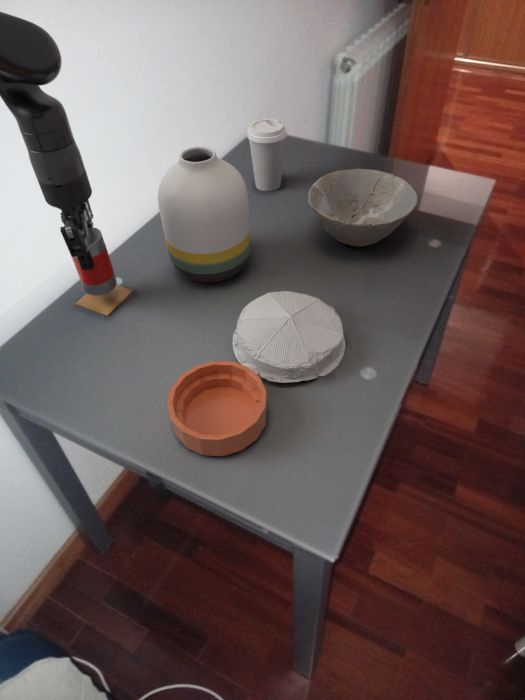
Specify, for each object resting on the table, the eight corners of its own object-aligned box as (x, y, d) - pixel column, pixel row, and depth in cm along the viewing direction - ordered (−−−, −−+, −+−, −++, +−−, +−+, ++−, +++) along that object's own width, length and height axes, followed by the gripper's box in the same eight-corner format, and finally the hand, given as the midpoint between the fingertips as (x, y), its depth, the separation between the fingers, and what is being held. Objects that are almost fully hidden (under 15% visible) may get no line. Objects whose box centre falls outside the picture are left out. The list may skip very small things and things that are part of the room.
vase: (264, 250, 106) (260, 140, 89) (231, 299, 96) (220, 185, 78) (195, 235, 111) (178, 128, 93) (156, 280, 100) (130, 168, 83)
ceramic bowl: (411, 213, 115) (420, 173, 107) (403, 273, 100) (412, 231, 92) (318, 202, 119) (320, 162, 112) (296, 257, 104) (298, 216, 97)
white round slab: (273, 292, 97) (272, 264, 92) (364, 331, 88) (369, 303, 83) (209, 355, 86) (204, 327, 81) (306, 406, 78) (307, 378, 73)
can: (102, 299, 92) (85, 250, 84) (76, 290, 94) (57, 241, 86) (123, 279, 96) (109, 231, 87) (98, 271, 98) (81, 223, 90)
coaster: (108, 316, 93) (107, 314, 93) (75, 304, 96) (75, 303, 96) (133, 291, 98) (133, 290, 98) (102, 281, 101) (101, 279, 100)
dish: (238, 473, 70) (236, 454, 66) (154, 435, 75) (148, 416, 71) (282, 399, 79) (282, 379, 75) (204, 369, 83) (200, 349, 80)
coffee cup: (288, 193, 122) (289, 132, 112) (250, 195, 122) (247, 135, 111) (284, 174, 129) (284, 116, 118) (248, 177, 129) (245, 118, 118)
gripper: (43, 152, 82) (74, 237, 94) (27, 195, 72) (64, 284, 85) (88, 148, 83) (113, 232, 95) (79, 190, 73) (108, 279, 85)
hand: (90, 256), depth 90 cm, fingers closed on can, 6 cm apart
